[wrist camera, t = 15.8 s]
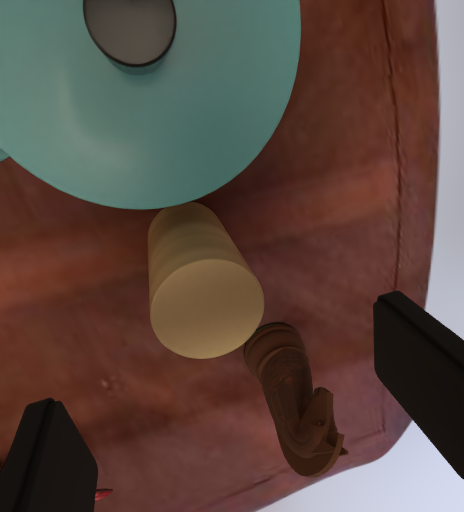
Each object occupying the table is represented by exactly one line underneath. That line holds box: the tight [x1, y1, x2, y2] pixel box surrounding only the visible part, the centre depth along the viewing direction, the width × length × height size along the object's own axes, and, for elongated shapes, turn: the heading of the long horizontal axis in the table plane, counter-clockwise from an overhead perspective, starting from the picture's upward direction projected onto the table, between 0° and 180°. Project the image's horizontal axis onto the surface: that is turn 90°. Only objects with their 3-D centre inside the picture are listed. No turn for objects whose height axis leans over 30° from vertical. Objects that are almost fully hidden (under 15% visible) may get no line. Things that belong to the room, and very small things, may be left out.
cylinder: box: [148, 202, 264, 359], centre depth 19 cm, size 5×5×9 cm
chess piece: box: [244, 324, 348, 477], centre depth 24 cm, size 5×5×10 cm
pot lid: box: [0, 0, 301, 210], centre depth 11 cm, size 11×11×4 cm
